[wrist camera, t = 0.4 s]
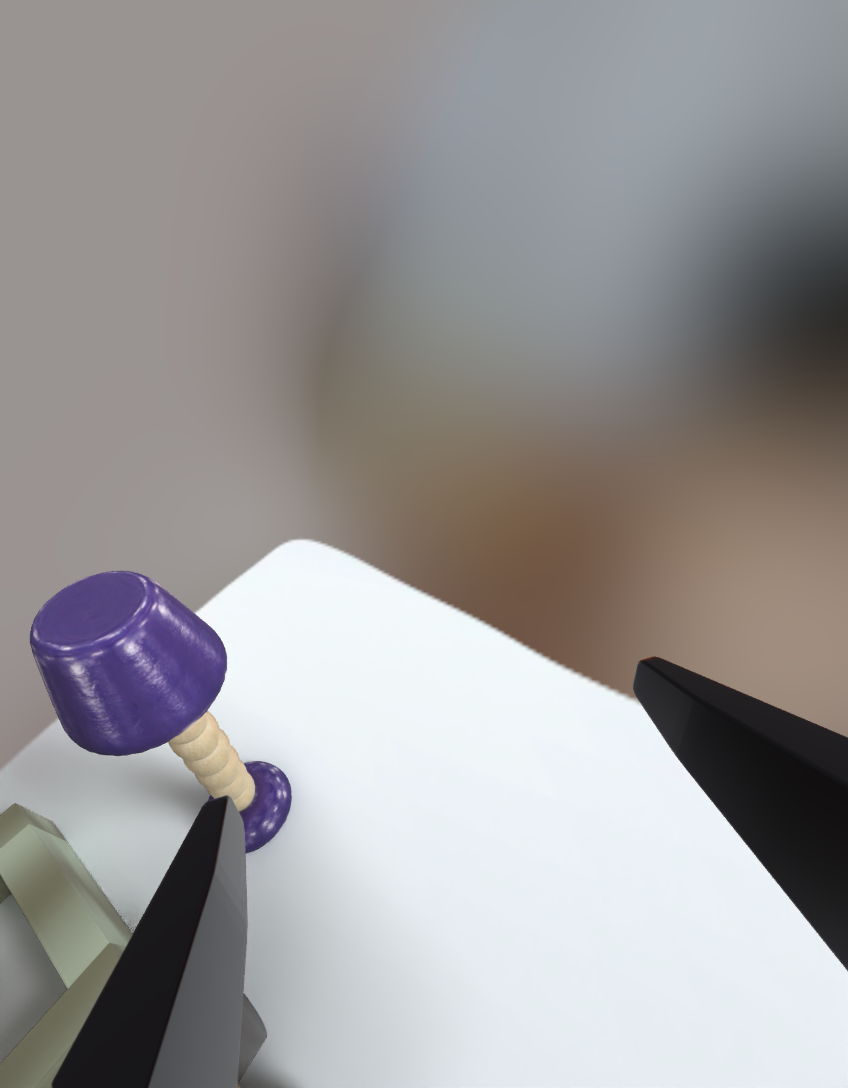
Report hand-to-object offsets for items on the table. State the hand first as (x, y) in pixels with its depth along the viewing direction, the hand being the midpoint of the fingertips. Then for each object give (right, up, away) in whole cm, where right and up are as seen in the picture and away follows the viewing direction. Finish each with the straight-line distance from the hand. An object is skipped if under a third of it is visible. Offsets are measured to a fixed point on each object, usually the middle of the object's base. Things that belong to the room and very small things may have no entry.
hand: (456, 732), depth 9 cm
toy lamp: (-10, -10, +14) cm, 19 cm away
